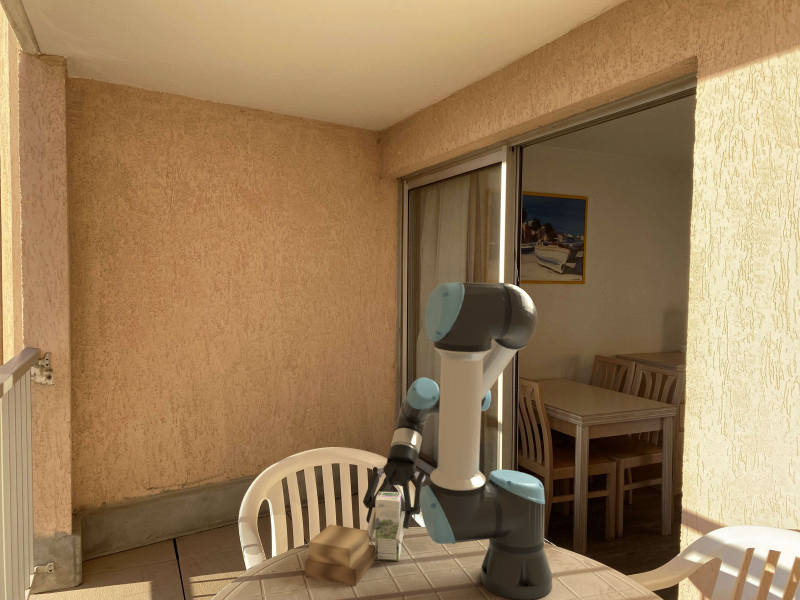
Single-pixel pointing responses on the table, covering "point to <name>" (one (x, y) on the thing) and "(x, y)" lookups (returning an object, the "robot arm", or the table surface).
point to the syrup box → (387, 525)
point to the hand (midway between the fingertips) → (383, 538)
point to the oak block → (339, 545)
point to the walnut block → (341, 569)
